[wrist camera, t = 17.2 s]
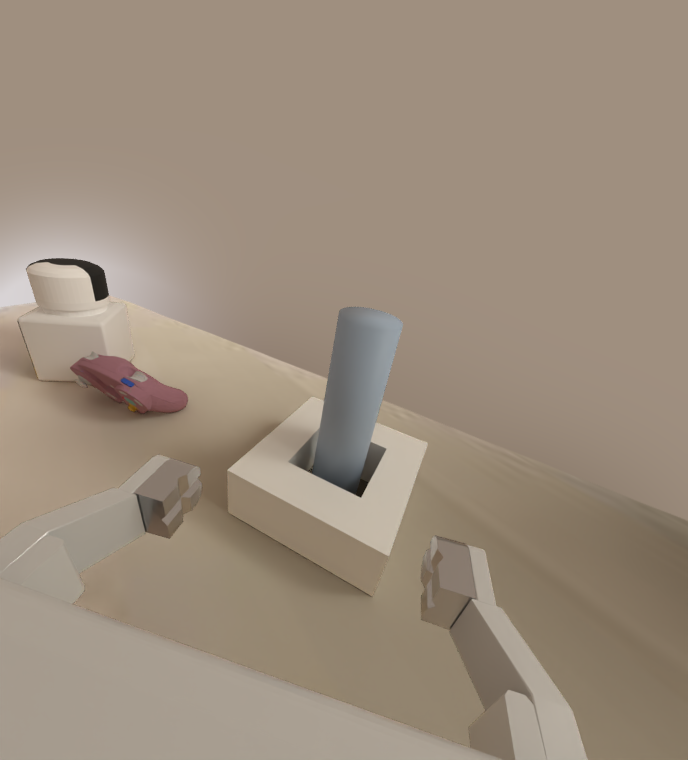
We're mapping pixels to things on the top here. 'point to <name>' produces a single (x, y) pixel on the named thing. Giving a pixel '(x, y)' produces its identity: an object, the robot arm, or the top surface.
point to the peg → (354, 393)
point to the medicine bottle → (72, 318)
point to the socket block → (326, 497)
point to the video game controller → (127, 384)
